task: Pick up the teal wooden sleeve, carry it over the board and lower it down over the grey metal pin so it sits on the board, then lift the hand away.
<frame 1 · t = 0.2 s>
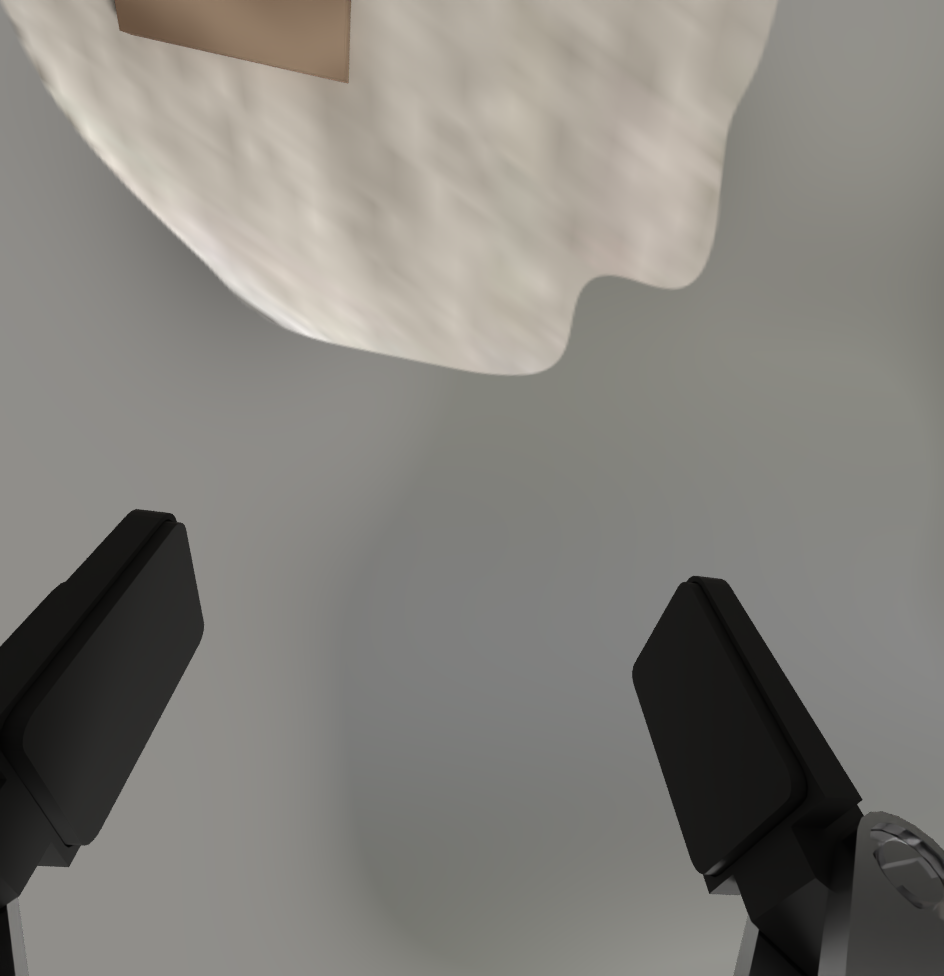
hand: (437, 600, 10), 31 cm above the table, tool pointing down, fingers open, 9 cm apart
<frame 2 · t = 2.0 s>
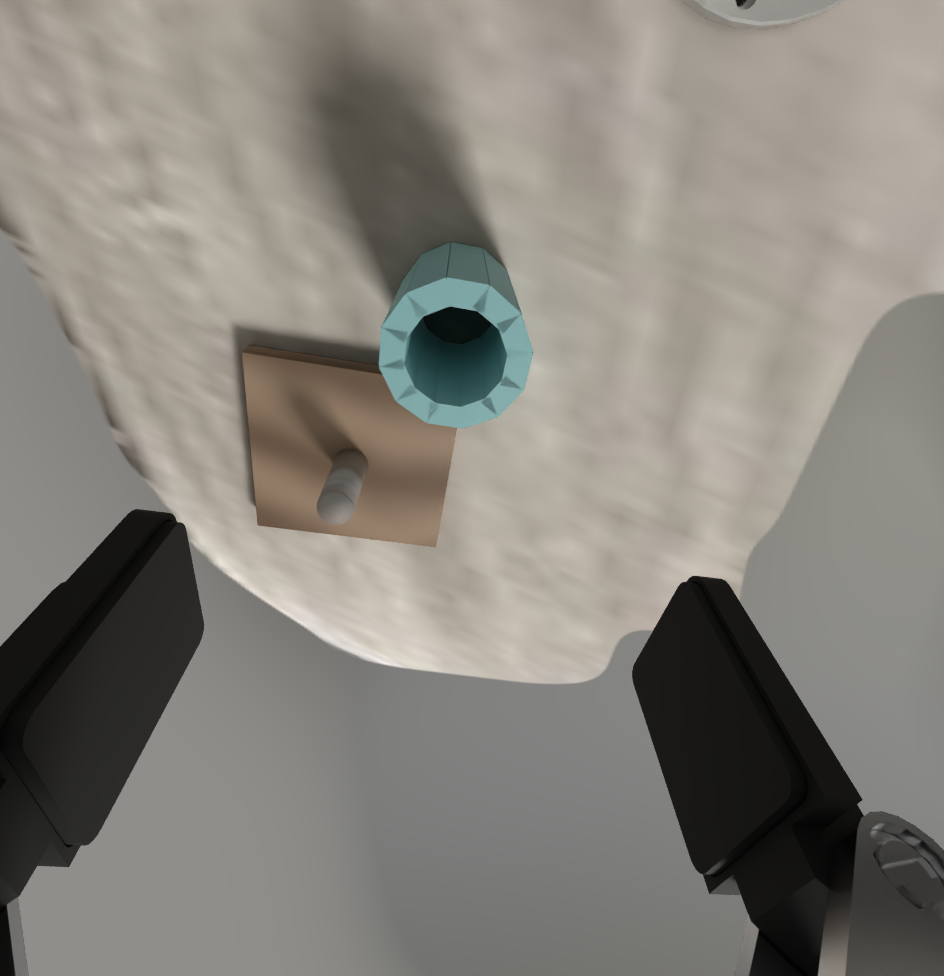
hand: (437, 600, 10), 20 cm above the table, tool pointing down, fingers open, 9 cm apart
pin board: (355, 452, 31), on the table
sleeve: (457, 306, 26), on the table
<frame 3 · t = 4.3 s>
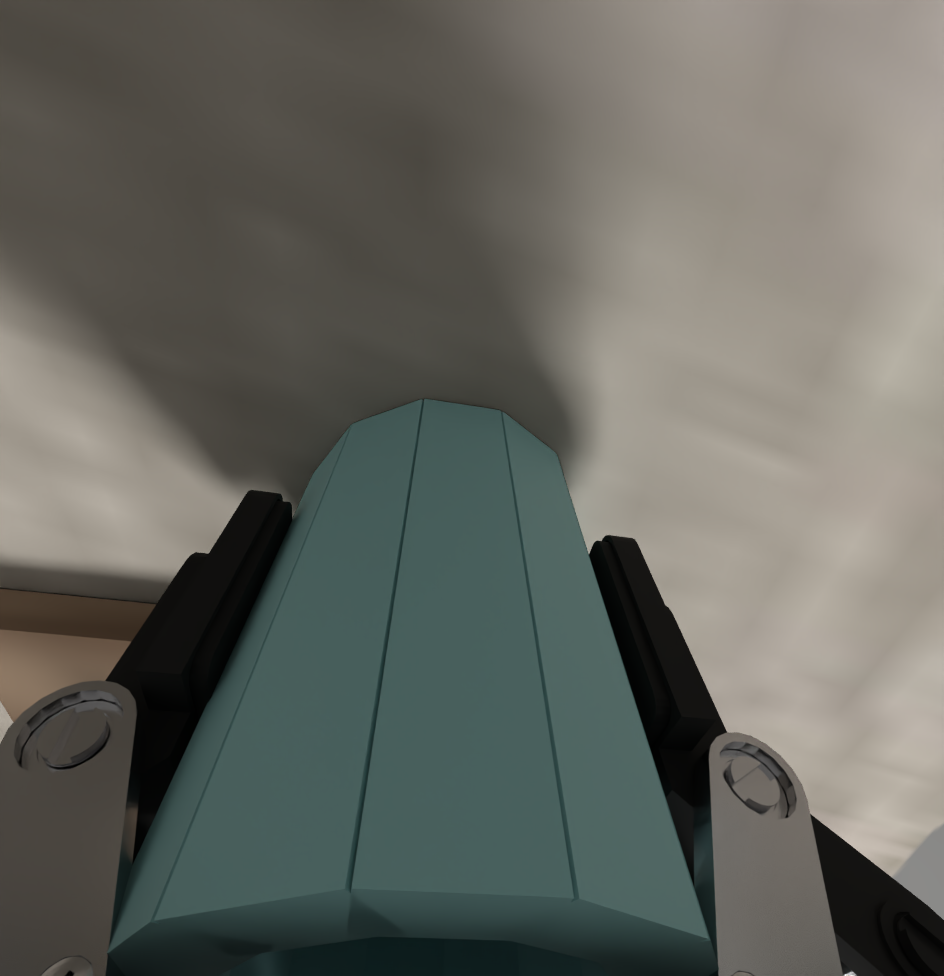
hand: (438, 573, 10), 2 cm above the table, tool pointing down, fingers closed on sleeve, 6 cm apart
pin board: (253, 733, 17), on the table
sleeve: (442, 519, 12), on the table, touching gripper
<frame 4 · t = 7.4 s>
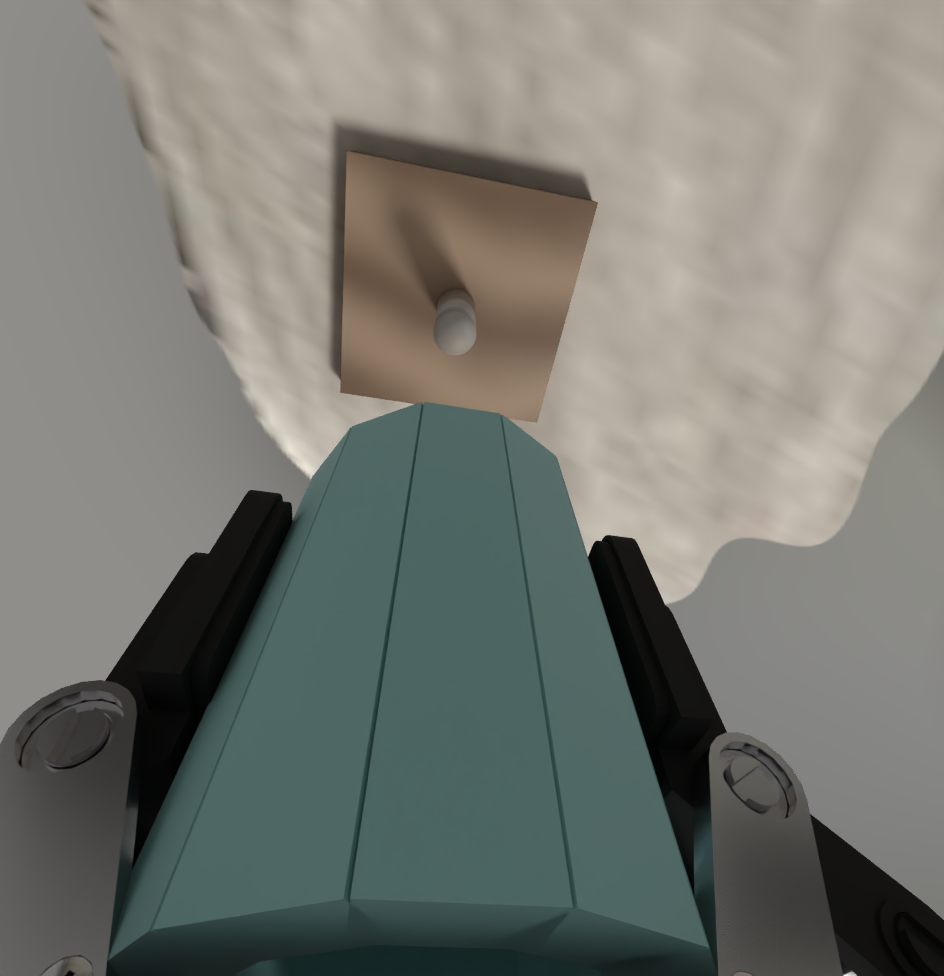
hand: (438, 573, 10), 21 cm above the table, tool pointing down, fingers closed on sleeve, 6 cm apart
pin board: (456, 301, 28), on the table
sleeve: (441, 522, 12), point 19 cm above the table, touching gripper
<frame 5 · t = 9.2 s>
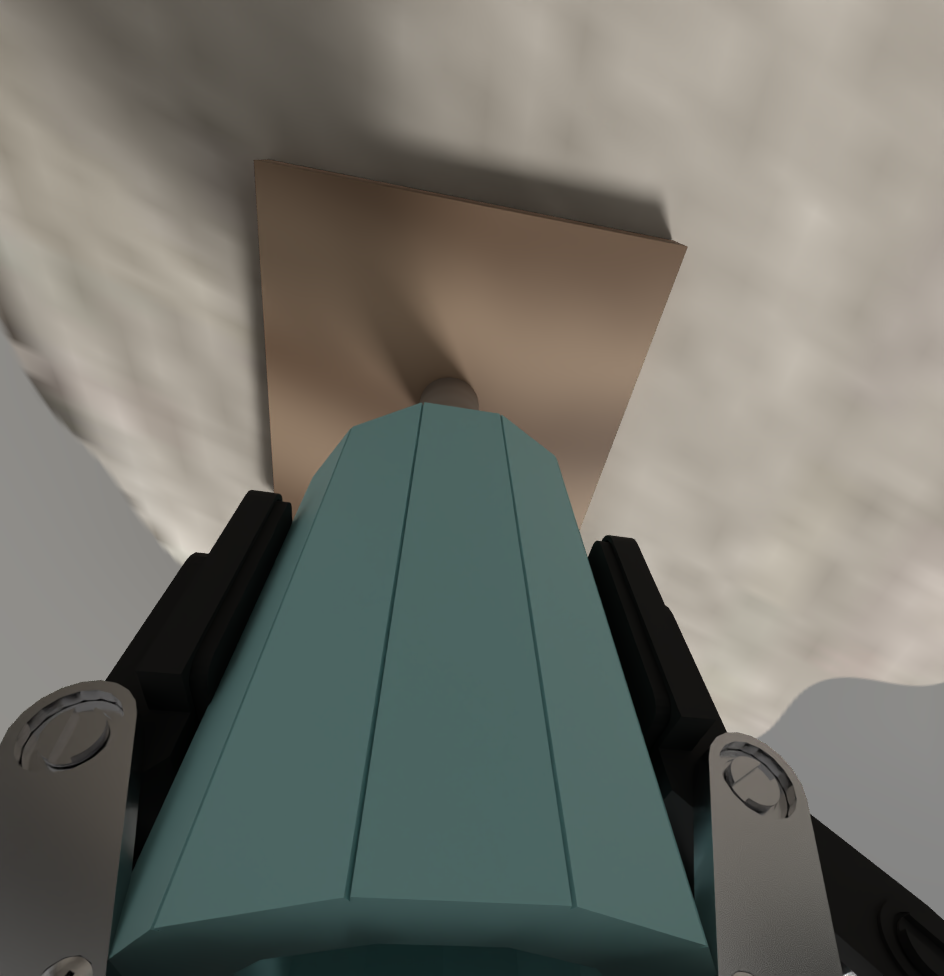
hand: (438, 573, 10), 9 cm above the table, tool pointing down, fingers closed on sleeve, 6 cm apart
pin board: (449, 391, 18), on the table
sleeve: (441, 522, 12), point 7 cm above the table, touching gripper
when the fingers open (4 cm above the table, at t = 10.6 s): sleeve drops 1 cm, resting on pin board.
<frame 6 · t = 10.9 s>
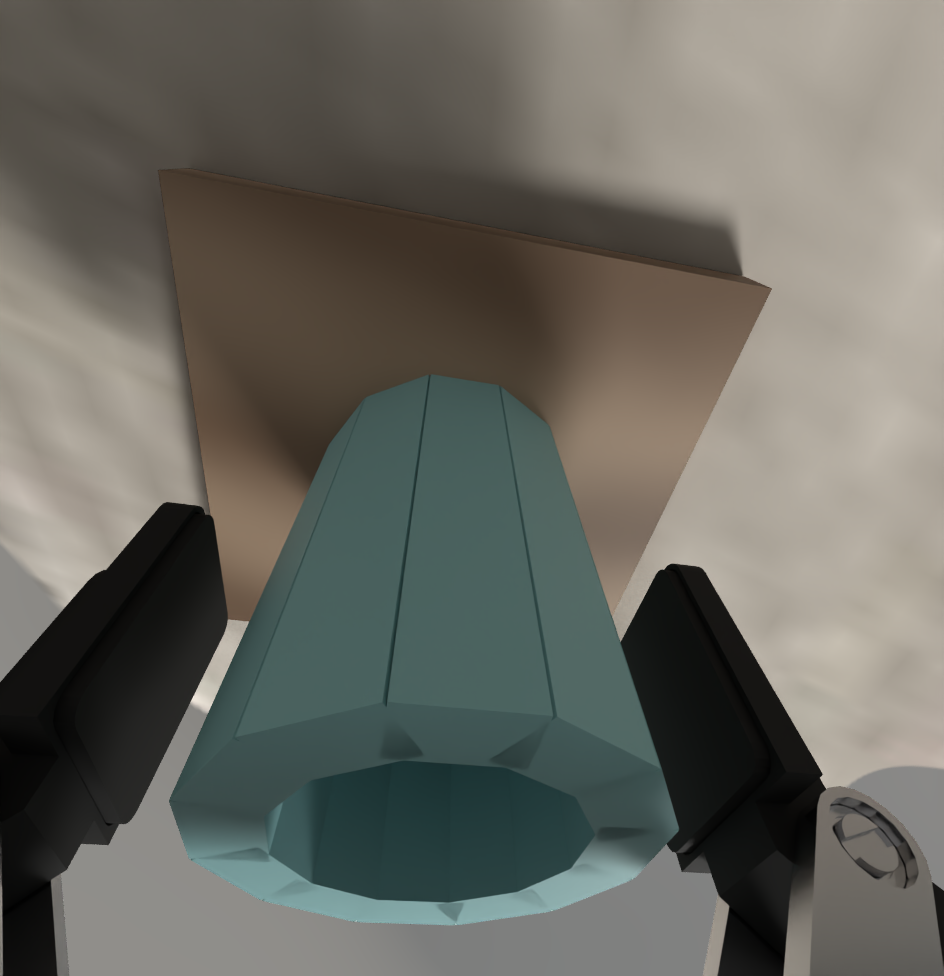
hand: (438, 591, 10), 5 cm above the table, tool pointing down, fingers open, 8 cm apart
pin board: (444, 463, 14), on the table
sleeve: (445, 487, 13), point 1 cm above the table, touching pin board
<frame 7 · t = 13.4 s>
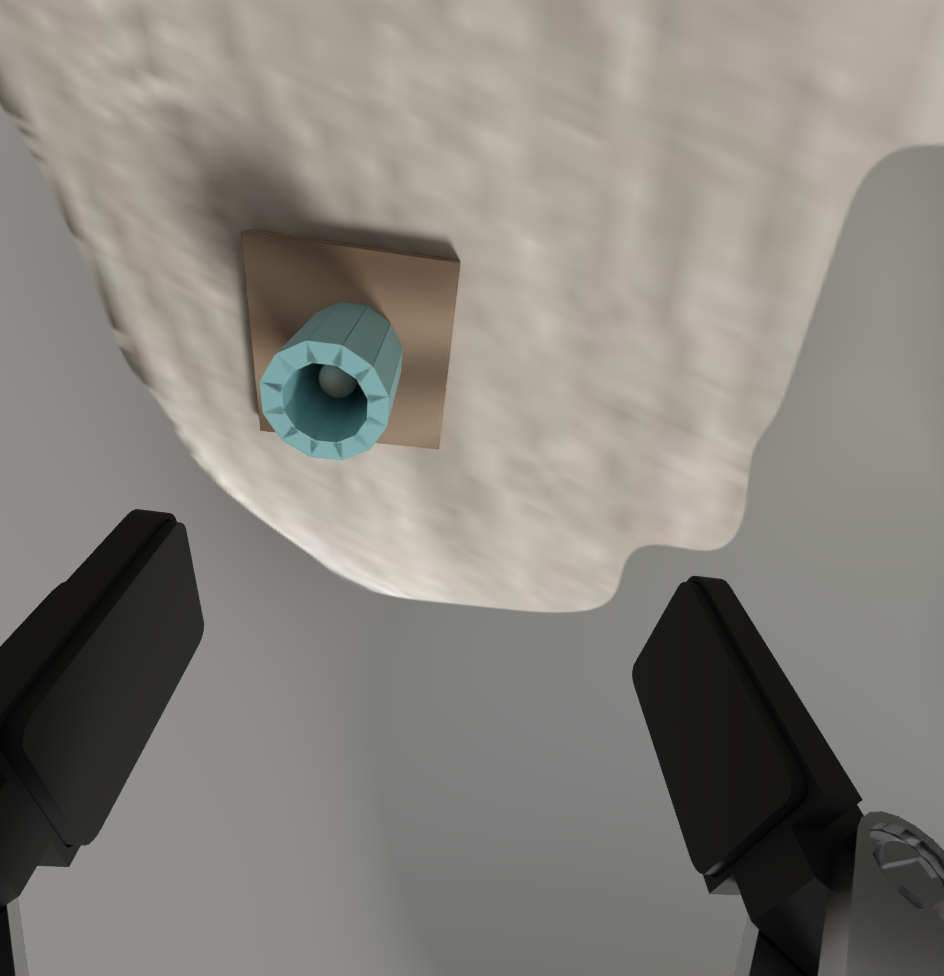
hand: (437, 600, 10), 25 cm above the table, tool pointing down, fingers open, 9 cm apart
pin board: (355, 348, 32), on the table
sleeve: (353, 353, 31), point 1 cm above the table, touching pin board
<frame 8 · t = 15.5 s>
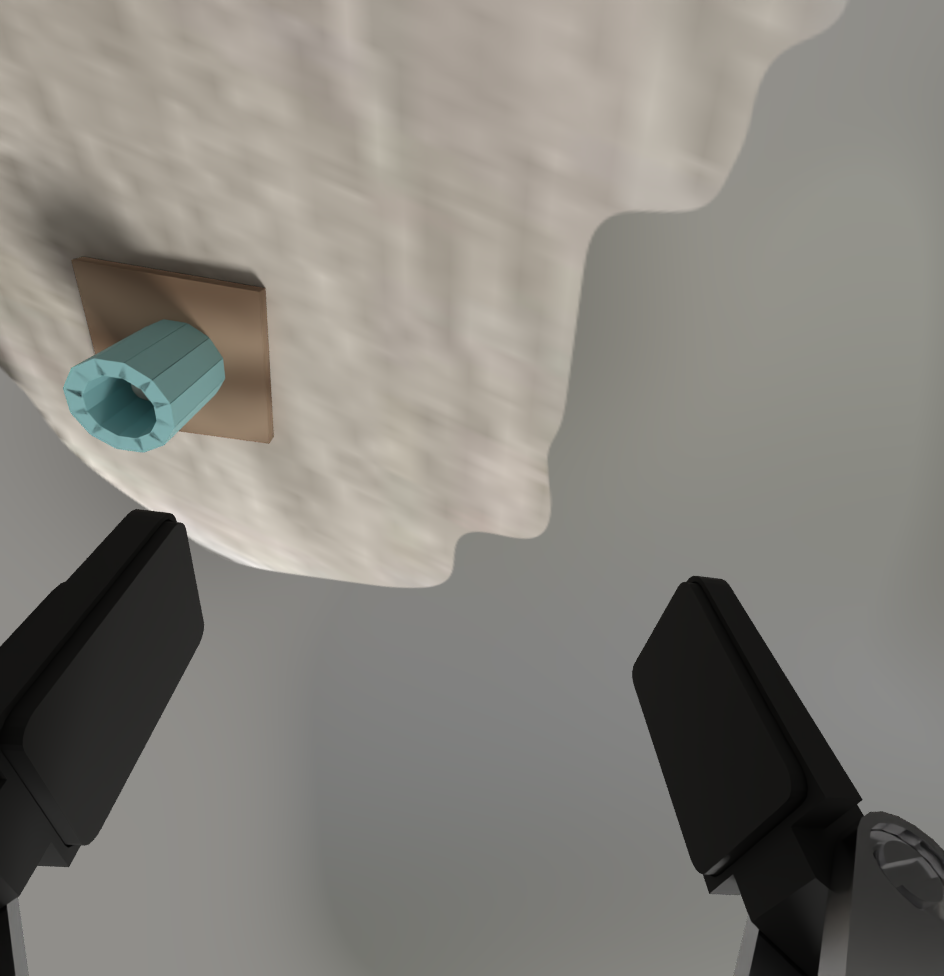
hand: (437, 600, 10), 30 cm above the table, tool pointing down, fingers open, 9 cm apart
pin board: (188, 356, 37), on the table
sleeve: (181, 361, 36), point 1 cm above the table, touching pin board
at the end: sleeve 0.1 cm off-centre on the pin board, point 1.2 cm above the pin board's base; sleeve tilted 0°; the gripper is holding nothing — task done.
